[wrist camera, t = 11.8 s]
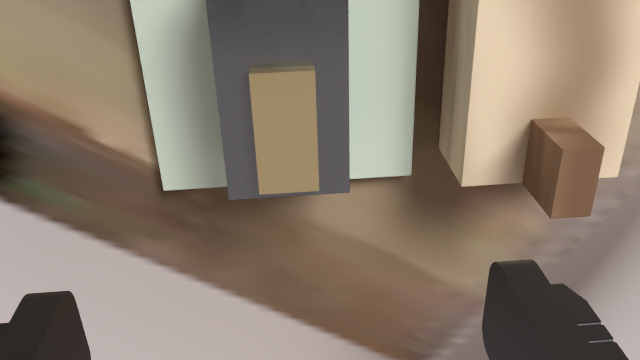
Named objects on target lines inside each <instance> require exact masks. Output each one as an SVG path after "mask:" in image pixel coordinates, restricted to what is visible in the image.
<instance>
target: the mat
mask: <svg viewBox="0 0 640 360" xmlns="http://www.w3.org/2000/svg"><path fill="white" fill-rule="evenodd" d="M130 3H131V9H132V15H133V20H134V26H135V32H136V37H137V43H138V49H139V54H140V60H141V65H142V71H143V77H144V82H145V88H146V94H147V99H148V105H149V111H150V116H151V122H152V128H153V133H154V139H155V145H156V150H157V156H158V161H159V167H160V173H161V178H162V184H163V190H164V191H167V190H183V189H199V188H215V187H227V180H226V171H225V163H224V154H223V146H222V137H221V129H220V120H219V112H218V103H217V95H216V86H215V78H214V69H213V61H212V52H211V44H210V35H209V27H208V18H207V10H206V1H205V0H130ZM348 10H349V154H350V179H359V178H375V177H391V176H407V175H411V170H412V149H413V127H414V106H415V85H416V63H417V42H418V21H419V0H348Z"/></svg>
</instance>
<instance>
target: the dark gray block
mask: <svg viewBox="0 0 640 360" xmlns="http://www.w3.org/2000/svg"><path fill="white" fill-rule="evenodd" d="M205 1H206V10H207V18H208V27H209V35H210V44H211V52H212V61H213V69H214V78H215V86H216V95H217V103H218V112H219V120H220V129H221V137H222V146H223V154H224V163H225V171H226V180H227V188H228V197H229V200H238V199H254V198H270V197H286V196H301V195H317V194H333V193H349V192H350V154H349V10H348V0H205Z"/></svg>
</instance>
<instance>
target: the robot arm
mask: <svg viewBox="0 0 640 360" xmlns="http://www.w3.org/2000/svg"><path fill="white" fill-rule="evenodd" d="M482 333H483V341H484V345H485V349H486V352H487V354H488V357H489V360H629V359H628V358H627V357H626V356H625V354H624V352H623V351H622V350H621V348H620V347H619V346H618V344H617V343H616V342H613V337H612V336H611V335H610V333H609V332H608V330H607V329H606V328H605V326H604V325H601V320H600V319H599V318H598V316H597V315H596V314H595V312H594V311H593V309H592V308H591V307H590V305H589V304H588V302H587V301H586V300H585V299H583V298H582V297H581V296H579V295H578V294H576V293H575V292H574V291H572V290H571V289H569V288H568V287H567V286H565V285H564V284H550V283H549V281H548V280H547V278H546V277H545V275H544V274H543V272H542V271H541V269H540V268H539V266H538V265H537V263H536V262H535V261H534V260H516V261H502V262H494V263H492V265H491V267H490V271H489V277H488V285H487V292H486V299H485V306H484V314H483V322H482ZM0 360H91V356H90V350H89V346H88V343H87V339H86V336H85V332H84V329H83V325H82V322H81V318H80V315H79V311H78V308H77V304H76V301H75V298H74V296H73V294H72V293H71V292H70V291H60V292H45V293H32V294H27V295H25V296H24V297H23V299H22V300H21V302H20V304H19V306H18V307H17V309H16V311H15V313H14V315H13V317H12V319H11V320H10V322H9V323H1V324H0Z"/></svg>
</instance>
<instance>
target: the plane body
mask: <svg viewBox="0 0 640 360" xmlns="http://www.w3.org/2000/svg"><path fill="white" fill-rule="evenodd" d="M639 82H640V0H449V7H448V22H447V36H446V50H445V65H444V79H443V93H442V108H441V122H440V136H439V149H440V151H441V153H442V154H443V156H444V158H445V159H446V161H447V163H448V165H449V166H450V168H451V170H452V171H453V173H454V175H455V176H456V178H457V180H458V181H459V183H460V185H461V187H465V186H481V185H496V184H512V183H523V184H524V186H525V187H526V188H527V189H528V191H529V192H530V193H531V195H532V196H533V197H534V198H535V200H536V201H537V202H538V203H539V205H540V206H541V207H542V209H543V210H544V211H545V212H546V214H547V215H548V216H549V217H550V219H556V218H571V217H586V216H590V215H591V210H592V206H593V201H594V196H595V192H596V187H597V182H598V178H606V177H618V173H619V168H620V164H621V160H622V156H623V151H624V147H625V143H626V138H627V134H628V130H629V125H630V121H631V117H632V112H633V108H634V104H635V99H636V95H637V91H638V86H639Z"/></svg>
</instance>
